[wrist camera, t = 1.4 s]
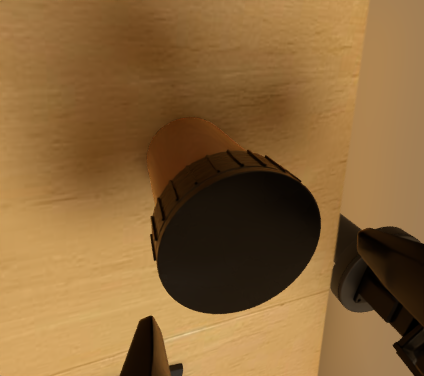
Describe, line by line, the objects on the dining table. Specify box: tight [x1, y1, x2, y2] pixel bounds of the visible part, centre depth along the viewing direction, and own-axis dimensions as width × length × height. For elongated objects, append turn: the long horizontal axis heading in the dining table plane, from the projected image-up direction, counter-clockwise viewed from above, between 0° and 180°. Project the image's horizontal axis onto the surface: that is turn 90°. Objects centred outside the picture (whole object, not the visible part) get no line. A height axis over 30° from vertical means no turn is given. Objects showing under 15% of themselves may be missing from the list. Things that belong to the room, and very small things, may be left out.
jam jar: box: [147, 117, 246, 206], centre depth 16 cm, size 6×6×10 cm
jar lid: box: [150, 149, 321, 314], centre depth 12 cm, size 7×7×2 cm
